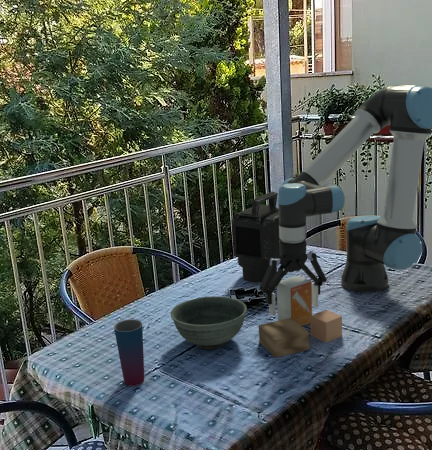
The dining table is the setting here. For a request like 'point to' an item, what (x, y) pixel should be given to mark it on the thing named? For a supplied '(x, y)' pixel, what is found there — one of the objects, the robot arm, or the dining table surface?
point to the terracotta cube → (326, 326)
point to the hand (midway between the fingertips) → (293, 309)
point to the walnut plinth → (283, 337)
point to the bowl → (209, 320)
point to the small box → (295, 299)
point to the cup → (130, 350)
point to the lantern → (256, 237)
